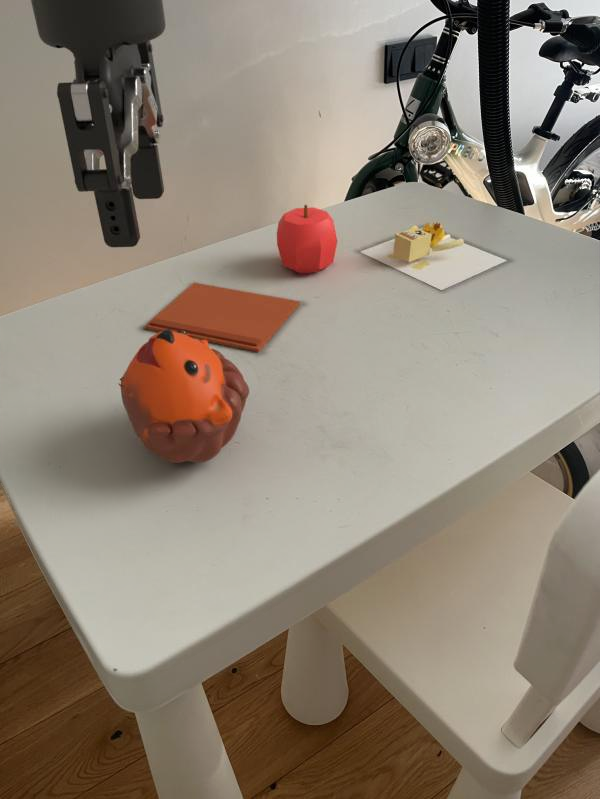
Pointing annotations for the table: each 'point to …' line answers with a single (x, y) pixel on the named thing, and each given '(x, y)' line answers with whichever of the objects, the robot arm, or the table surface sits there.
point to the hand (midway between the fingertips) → (137, 219)
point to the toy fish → (183, 397)
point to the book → (225, 316)
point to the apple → (306, 239)
